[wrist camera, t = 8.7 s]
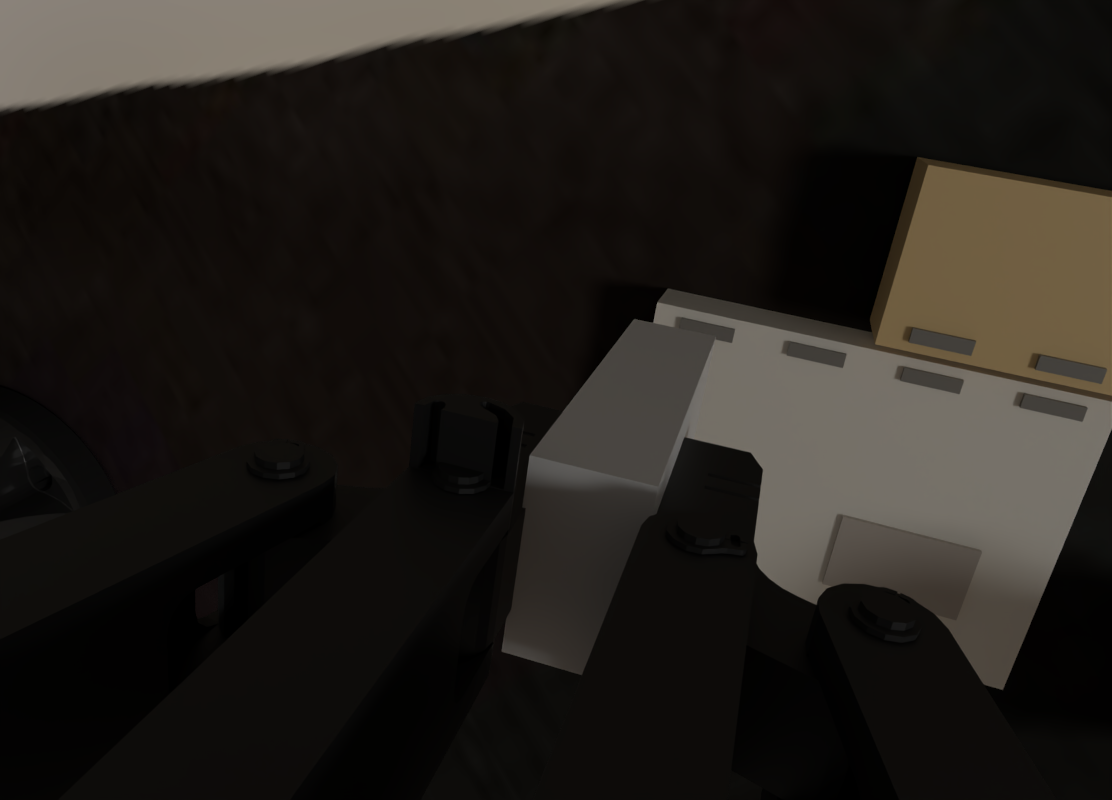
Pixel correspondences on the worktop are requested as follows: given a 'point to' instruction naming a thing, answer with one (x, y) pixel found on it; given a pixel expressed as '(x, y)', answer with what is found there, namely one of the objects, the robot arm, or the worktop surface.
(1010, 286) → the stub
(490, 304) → the worktop surface
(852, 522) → the flat white box
